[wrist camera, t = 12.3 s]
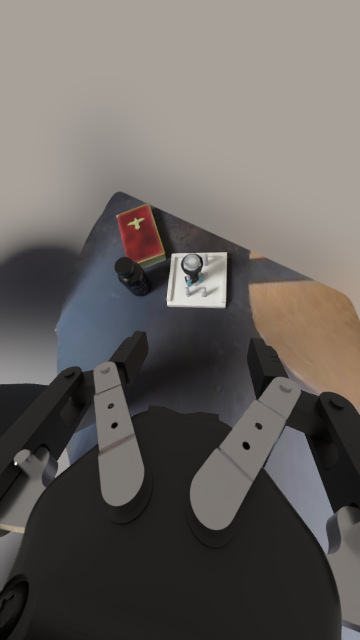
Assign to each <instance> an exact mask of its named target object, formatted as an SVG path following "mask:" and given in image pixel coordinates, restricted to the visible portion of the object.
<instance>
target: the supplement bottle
mask: <svg viewBox="0 0 360 640" xmlns="http://www.w3.org/2000/svg"><path fill="white" fill-rule="evenodd" d="M114 267H115V271H116V272H117V273H118V279H119V281H120V282H121V283H122V284H123V285H124V286H125V287H126V288H127V289H128V290H129V291H130V292H131V293H133V294H134V295H135V296H144V295H146V294H147V293H148V292H149V291H150V290H151V286H152V284H151V281H150V279H149V277H148V276H147V274H146V273H145V271H144V270H143V268H142V267H141V266H140V264H138V263H137V262H134V261H132V260H131V259H130V258H129V257H122V258H120V259H118V260H117V261H116V263H115V266H114Z"/></svg>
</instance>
